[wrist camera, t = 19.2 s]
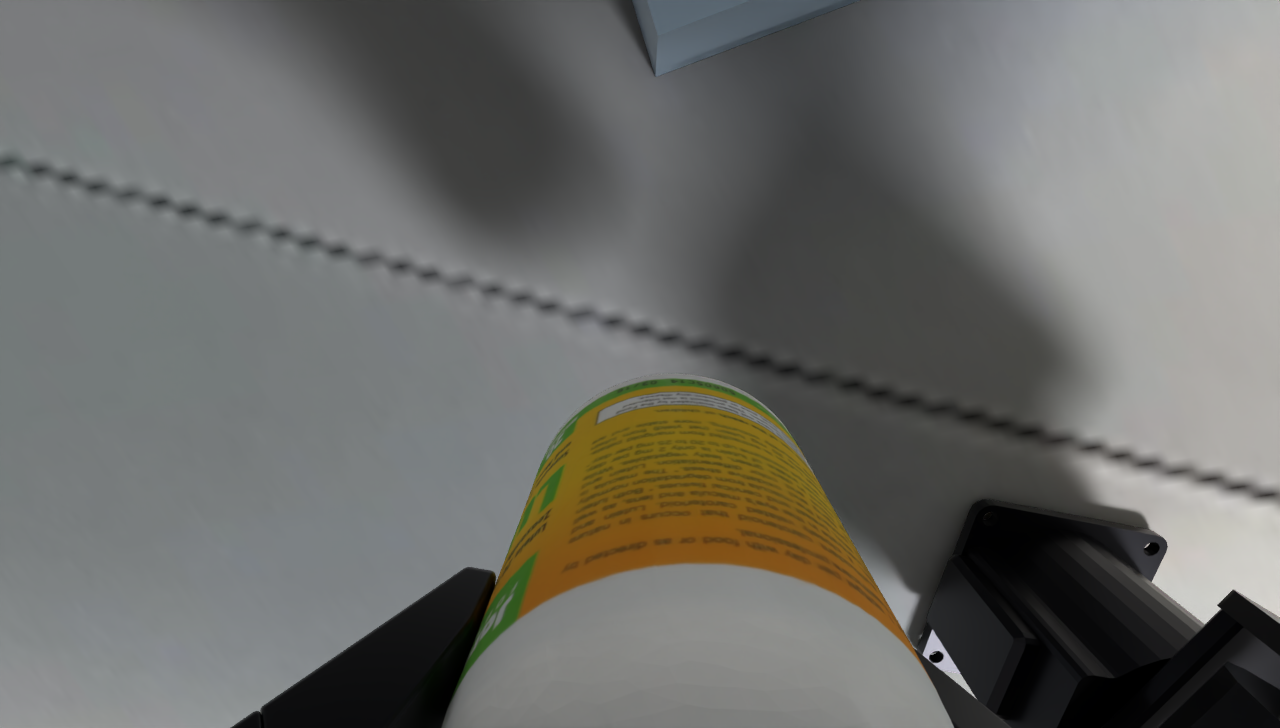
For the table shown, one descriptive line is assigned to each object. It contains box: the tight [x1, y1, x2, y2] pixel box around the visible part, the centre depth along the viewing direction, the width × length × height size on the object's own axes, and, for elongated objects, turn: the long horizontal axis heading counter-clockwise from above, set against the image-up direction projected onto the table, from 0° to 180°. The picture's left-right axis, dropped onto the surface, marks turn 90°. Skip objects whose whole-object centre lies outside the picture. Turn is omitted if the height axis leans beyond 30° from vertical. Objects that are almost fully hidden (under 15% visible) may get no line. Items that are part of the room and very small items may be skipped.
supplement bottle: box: [441, 374, 954, 728], centre depth 8 cm, size 5×5×10 cm
